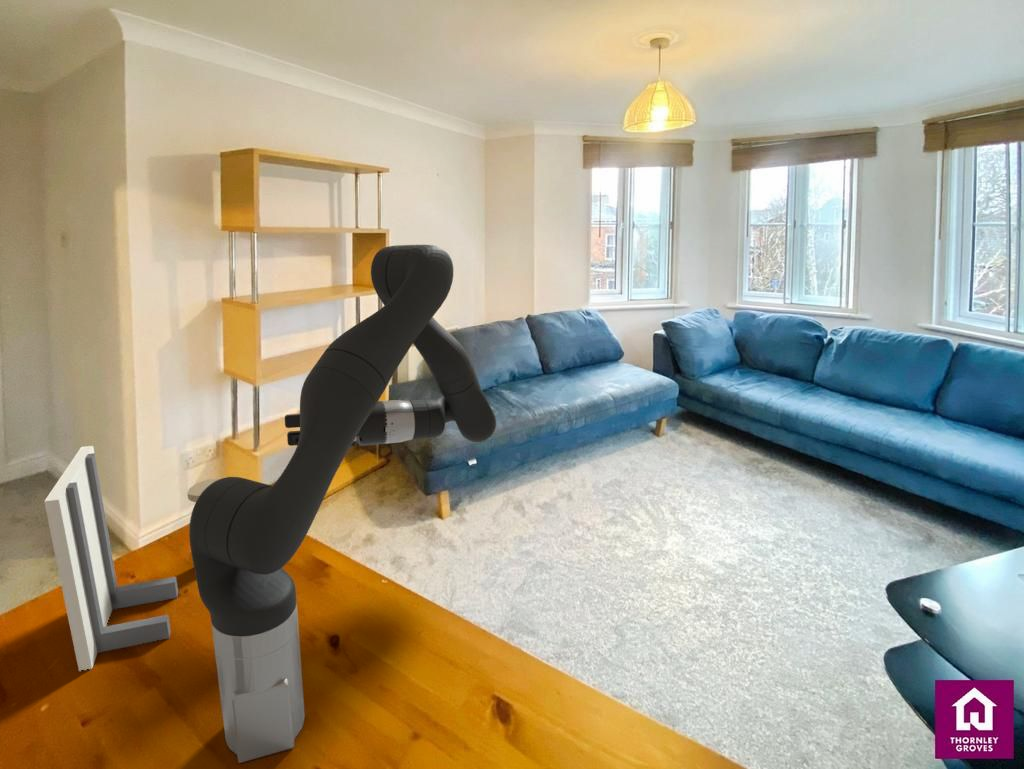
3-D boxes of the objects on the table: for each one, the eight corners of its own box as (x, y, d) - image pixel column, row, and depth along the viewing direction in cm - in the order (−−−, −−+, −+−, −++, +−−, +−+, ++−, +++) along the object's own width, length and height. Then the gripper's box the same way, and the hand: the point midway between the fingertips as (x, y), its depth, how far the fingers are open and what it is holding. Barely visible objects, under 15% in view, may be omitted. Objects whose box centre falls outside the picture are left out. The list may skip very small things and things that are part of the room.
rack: (166, 653, 85) (141, 489, 78) (79, 671, 81) (44, 501, 74) (180, 580, 101) (160, 439, 94) (107, 593, 97) (81, 446, 90)
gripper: (376, 390, 109) (282, 395, 103) (393, 414, 97) (287, 422, 91) (377, 428, 111) (284, 436, 105) (393, 457, 99) (289, 467, 92)
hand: (286, 429), depth 98 cm, fingers open, 8 cm apart
